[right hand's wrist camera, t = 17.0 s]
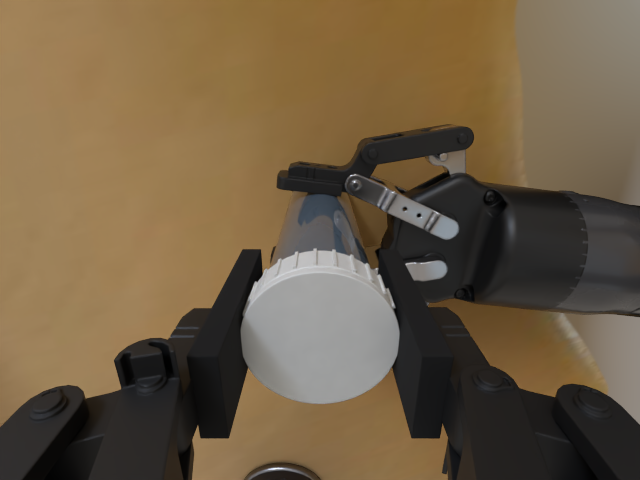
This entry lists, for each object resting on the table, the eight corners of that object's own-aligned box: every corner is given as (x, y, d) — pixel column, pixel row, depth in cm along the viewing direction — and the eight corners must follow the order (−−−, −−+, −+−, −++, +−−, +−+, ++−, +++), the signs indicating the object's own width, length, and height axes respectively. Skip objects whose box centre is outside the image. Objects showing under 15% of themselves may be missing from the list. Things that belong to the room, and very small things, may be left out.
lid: (393, 242, 11) (404, 264, 10) (391, 368, 13) (400, 402, 12) (237, 251, 11) (224, 274, 10) (257, 374, 13) (249, 409, 12)
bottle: (284, 214, 28) (238, 359, 12) (302, 162, 26) (277, 250, 10) (335, 232, 28) (355, 393, 13) (356, 182, 27) (408, 294, 11)
